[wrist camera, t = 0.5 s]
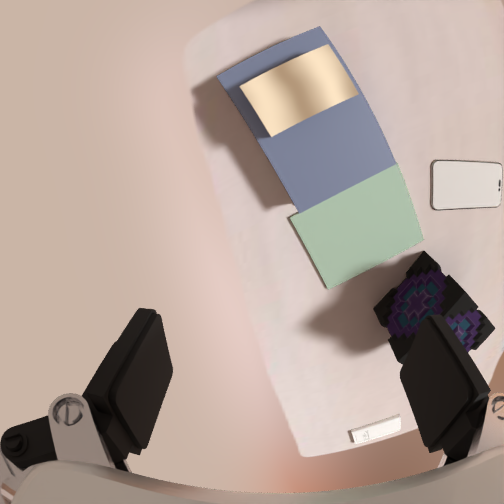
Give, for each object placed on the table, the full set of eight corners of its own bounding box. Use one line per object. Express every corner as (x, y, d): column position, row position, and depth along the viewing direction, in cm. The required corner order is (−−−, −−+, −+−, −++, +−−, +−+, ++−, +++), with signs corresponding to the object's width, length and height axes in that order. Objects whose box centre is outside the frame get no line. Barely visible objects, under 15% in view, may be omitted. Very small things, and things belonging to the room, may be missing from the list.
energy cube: (459, 287, 39) (495, 328, 28) (414, 336, 43) (438, 384, 32) (423, 250, 37) (465, 291, 26) (373, 308, 41) (397, 361, 30)
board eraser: (323, 51, 24) (328, 44, 21) (351, 97, 26) (359, 94, 23) (242, 90, 27) (239, 86, 24) (271, 136, 29) (271, 137, 26)
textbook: (314, 36, 26) (319, 26, 23) (384, 160, 32) (396, 163, 28) (222, 82, 30) (216, 76, 26) (296, 204, 35) (299, 213, 32)
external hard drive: (399, 426, 56) (354, 440, 59) (398, 412, 53) (350, 428, 56) (400, 430, 55) (355, 445, 57) (400, 417, 52) (351, 433, 55)
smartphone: (432, 159, 31) (502, 162, 29) (428, 158, 32) (498, 161, 30) (431, 211, 34) (500, 207, 32) (428, 208, 35) (496, 205, 33)
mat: (396, 162, 32) (397, 162, 32) (422, 238, 36) (423, 239, 35) (289, 217, 36) (289, 218, 36) (327, 288, 40) (328, 289, 40)
